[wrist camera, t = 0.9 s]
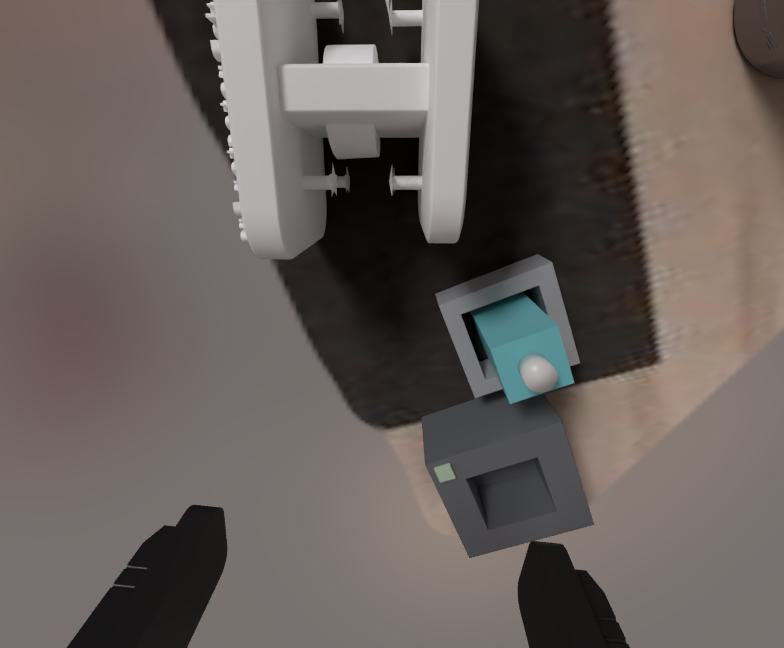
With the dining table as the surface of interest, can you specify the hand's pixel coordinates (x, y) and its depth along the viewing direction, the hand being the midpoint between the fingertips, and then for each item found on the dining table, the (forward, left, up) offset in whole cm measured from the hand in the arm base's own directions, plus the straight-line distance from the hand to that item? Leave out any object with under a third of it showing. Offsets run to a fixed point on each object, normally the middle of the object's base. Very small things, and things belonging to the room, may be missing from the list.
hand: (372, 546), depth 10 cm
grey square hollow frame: (-7, +5, -21) cm, 23 cm away
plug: (-7, +5, -21) cm, 23 cm away
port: (-3, +16, -21) cm, 27 cm away
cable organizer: (-3, -12, -22) cm, 25 cm away
